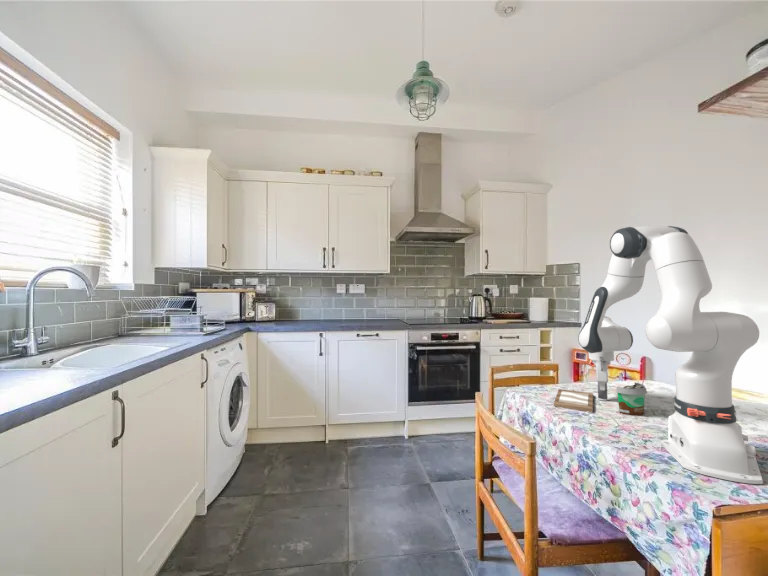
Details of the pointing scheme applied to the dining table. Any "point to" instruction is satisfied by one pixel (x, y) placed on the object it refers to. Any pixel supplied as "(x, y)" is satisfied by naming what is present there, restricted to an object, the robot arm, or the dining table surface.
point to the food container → (631, 399)
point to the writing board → (574, 400)
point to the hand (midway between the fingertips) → (602, 388)
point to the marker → (602, 393)
